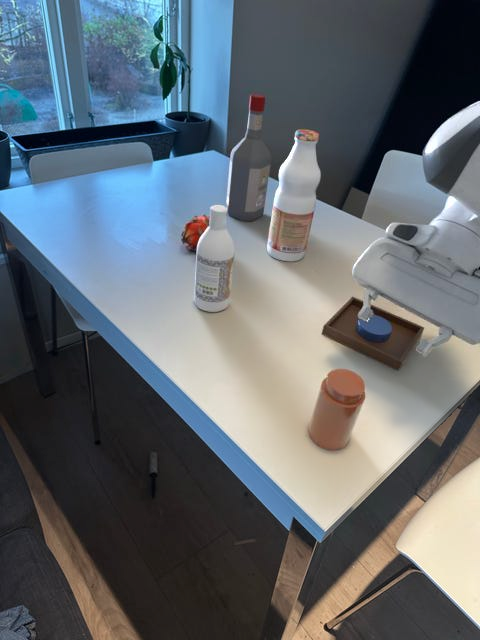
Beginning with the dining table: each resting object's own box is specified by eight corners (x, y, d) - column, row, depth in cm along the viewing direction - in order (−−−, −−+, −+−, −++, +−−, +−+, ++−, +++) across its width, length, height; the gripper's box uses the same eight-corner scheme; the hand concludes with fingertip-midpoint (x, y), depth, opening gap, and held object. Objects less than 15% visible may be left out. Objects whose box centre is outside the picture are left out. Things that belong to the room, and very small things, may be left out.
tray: (421, 335, 87) (424, 327, 86) (398, 371, 78) (402, 362, 77) (349, 304, 93) (352, 296, 92) (321, 334, 84) (323, 325, 83)
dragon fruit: (222, 246, 111) (186, 267, 105) (202, 218, 111) (165, 237, 105) (236, 230, 104) (198, 251, 98) (215, 200, 104) (175, 219, 98)
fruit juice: (258, 249, 108) (275, 128, 92) (284, 240, 114) (304, 124, 97) (286, 266, 103) (310, 141, 86) (312, 255, 109) (339, 136, 92)
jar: (355, 430, 66) (375, 380, 60) (338, 457, 62) (358, 406, 56) (319, 410, 69) (335, 359, 62) (301, 434, 65) (315, 383, 58)
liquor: (266, 213, 126) (283, 97, 108) (249, 224, 119) (265, 102, 101) (239, 204, 129) (251, 90, 111) (221, 213, 123) (231, 94, 105)
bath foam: (229, 314, 86) (240, 218, 74) (193, 312, 86) (198, 215, 74) (228, 293, 92) (238, 201, 80) (194, 292, 91) (199, 198, 79)
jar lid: (351, 332, 85) (353, 324, 83) (363, 318, 89) (366, 310, 88) (382, 347, 82) (385, 339, 81) (393, 331, 86) (397, 323, 85)
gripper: (519, 297, 60) (460, 381, 60) (387, 238, 71) (338, 309, 71) (524, 279, 55) (460, 371, 55) (381, 218, 66) (327, 295, 66)
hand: (390, 335), depth 63 cm, fingers open, 8 cm apart
